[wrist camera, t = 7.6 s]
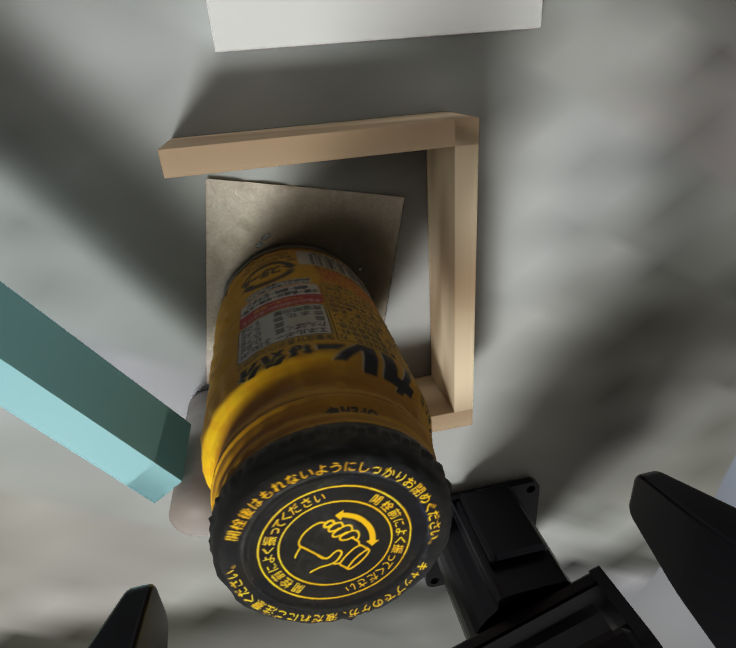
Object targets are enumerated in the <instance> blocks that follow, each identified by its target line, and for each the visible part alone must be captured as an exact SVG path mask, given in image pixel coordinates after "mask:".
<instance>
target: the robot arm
mask: <svg viewBox="0 0 736 648" xmlns="http://www.w3.org/2000/svg"><path fill="white" fill-rule="evenodd" d="M450 496H451V500H452V504H453V507H452V511H453V516H452V523H451V529H450V534H449V540H448V544H447V545H446V546H445V548H444V550H443V552H442V553H441V555H440V556H439V557H438V558H437V560H436V561H435V563H434V564H433V566H432V568H431V570H430V571H429V572H428V573H427V574H426V575H425V576H424V577H425V580H426V583H427V585H428V586H429V587H436V586H440V585H444V584H445V586H446V588H447V591H448V594H449V596H450V599H451V601H452V604H453V607H454V609H455V612H456V614H457V617H458V620H459V622H460V625H461V627H462V630H463V633H464V635H465V638H466V640H465V641H463V642H462V643H460V644H458V645H456V646H454V647H452V648H663V647H662V646H661V645H660V643H659V641H658V640H657V639H656V638H655V636H654V635H653V634H652V632H651V631H650V630H649V628H648V627H647V626H646V625H645V623H644V622H643V621H642V620H641V618H640V617H639V616H638V614H637V613H636V612H635V611H634V610H633V608H632V607H631V606H630V604H629V603H628V602H627V600H626V599H625V598H624V597H623V595H622V594H621V593H620V592H619V590H618V589H617V588H616V587H615V585H614V584H613V583H612V581H611V580H610V579H609V578H608V576H607V575H606V574H605V573H604V571H603V570H602V569H601V568H600V566H599V565H598V566H597V567H595V568H593V569H591V570H589V573H588V574H587V575H585V576H583V577H581V578H579V579H577V580H576V581H574V582H572V583H571V581H570V579H569V578H568V576H567V575H566V573H565V572H564V570H563V568H562V567H561V565H560V564H559V562H558V561H557V559H556V557H555V556H554V554H553V553H552V551H551V550H550V548H549V546H548V545H547V543H546V542H545V540H544V538H543V537H542V535H541V534H540V532H539V531H538V529H537V527H536V516H537V506H538V496H539V484H538V483H537V481H536V480H535V479H534V478H532V477H527V478H522V479H518V480H513V481H508V482H504V483H499V484H495V485H490V486H485V487H481V488H476V489H472V490H467V491H462V492H458V493H453V494H450ZM629 508H630V513H631V516H632V518H633V520H634V522H635V523H636V525H637V527H638V528H639V530H640V532H641V534H642V535H643V537H644V539H645V540H646V542H647V544H648V545H649V547H650V549H651V551H652V552H653V554H654V556H655V557H656V559H657V561H658V562H659V564H660V566H661V567H662V569H663V571H664V573H665V574H666V576H667V578H668V579H669V581H670V582H671V584H672V586H673V587H674V589H675V591H676V592H677V594H678V595H679V597H680V598H681V600H682V601H683V603H684V604H685V605H686V607H687V608H688V610H689V611H690V612H691V614H692V615H693V616H694V618H695V619H696V621H697V622H698V624H699V625H700V626H701V628H702V629H703V631H704V632H705V633H706V635H707V636H708V638H709V639H710V640H711V642H712V643H713V645H714V646H715V647H716V648H736V508H735V507H733V506H730V505H728V504H726V503H724V502H722V501H720V500H718V499H716V498H714V497H712V496H710V495H708V494H705V493H703V492H701V491H699V490H697V489H695V488H693V487H691V486H689V485H687V484H685V483H683V482H680V481H678V480H676V479H674V478H672V477H670V476H668V475H666V474H664V473H661V472H658V471H652V472H648V473H643V474H639V475H638V476H637V477H636V478H635V480H634V485H633V489H632V494H631V499H630V504H629ZM167 643H168V619H167V614H166V611H165V609H164V606H163V604H162V601H161V599H160V596H159V593H158V591H157V589H156V587H155V586H154V585H153V584H148V585H143V586H139V587H134V588H131V589H129V590H128V591H126V592H125V594H124V595H123V596H122V598H121V599H120V601H119V602H118V604H117V605H116V607H115V608H114V610H113V611H112V612H111V614H110V615H109V617H108V618H107V620H106V621H105V623H104V624H103V626H102V627H101V628H100V630H99V631H98V633H97V634H96V636H95V637H94V639H93V640H92V642H91V643H90V645H89V646H88V647H87V648H167Z"/></svg>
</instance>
